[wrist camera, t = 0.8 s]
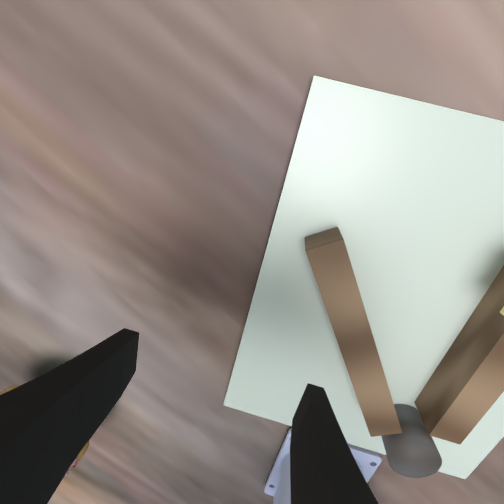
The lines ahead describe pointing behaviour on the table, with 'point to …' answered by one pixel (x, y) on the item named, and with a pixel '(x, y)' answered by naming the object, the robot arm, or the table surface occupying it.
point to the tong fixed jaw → (453, 391)
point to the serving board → (378, 256)
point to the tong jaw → (352, 329)
